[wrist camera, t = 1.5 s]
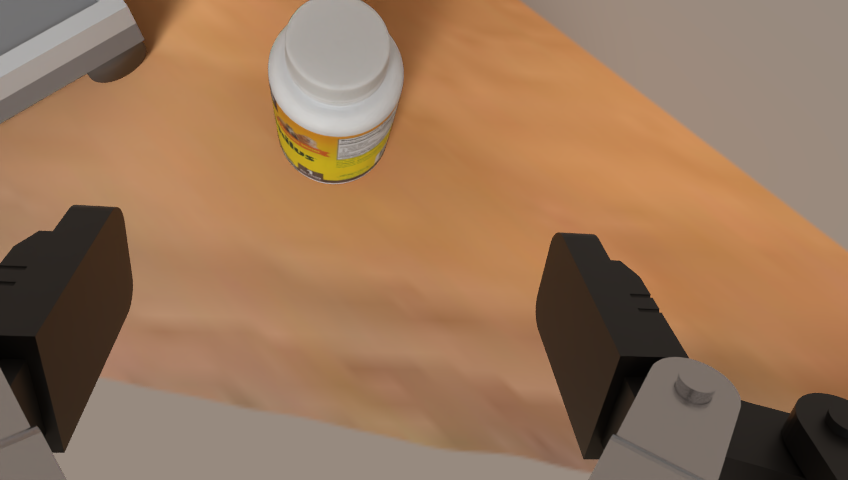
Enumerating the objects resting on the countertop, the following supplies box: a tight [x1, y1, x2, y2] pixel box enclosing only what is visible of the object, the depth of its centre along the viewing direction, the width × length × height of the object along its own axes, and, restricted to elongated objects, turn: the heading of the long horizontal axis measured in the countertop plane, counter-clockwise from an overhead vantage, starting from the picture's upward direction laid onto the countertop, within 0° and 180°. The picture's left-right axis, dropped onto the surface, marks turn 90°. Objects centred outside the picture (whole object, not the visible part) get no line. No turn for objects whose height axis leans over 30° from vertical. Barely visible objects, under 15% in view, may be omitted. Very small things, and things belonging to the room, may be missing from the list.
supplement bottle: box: [268, 0, 404, 184], centre depth 30 cm, size 6×6×10 cm
